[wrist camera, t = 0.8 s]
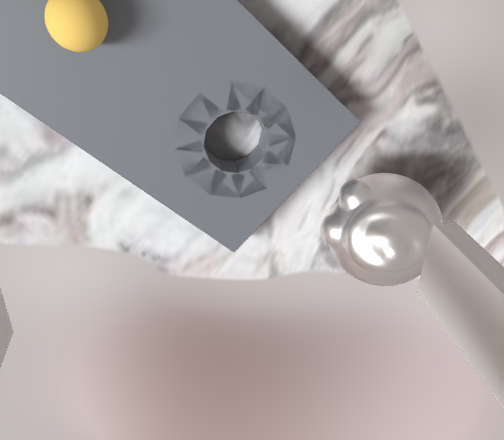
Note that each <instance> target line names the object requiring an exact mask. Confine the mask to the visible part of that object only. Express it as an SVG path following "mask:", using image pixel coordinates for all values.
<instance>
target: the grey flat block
mask: <svg viewBox="0 0 504 440" xmlns="http://www.w3.org/2000/svg"><path fill="white" fill-rule="evenodd" d="M99 1H100V2H101V4H102V5H103V7H104V9H105V11H106V14H107V18H108V30H107V34H106V36H105V38H104V40H103V42H102V43H101V44H100V45H99V46H97V47H96V48H94V49H93V50H90V51H87V52H75V51H71V50H68V49H66V48H64V47H62V46H61V45H59V44H58V43H57V42H56V41H55V40H54V39H53V38H52V36H51V35H50V33H49V32H48V29H47V27H46V24H45V7H46V4H47V2H48V0H0V94H2V95H3V96H5V97H6V98H8V99H9V100H11V101H12V102H14V103H15V104H17V105H18V106H19V107H21V108H22V109H24V110H25V111H27V112H28V113H30V114H31V115H33V116H34V117H36V118H37V119H39V120H40V121H42V122H43V123H44V124H46V125H47V126H49V127H50V128H52V129H53V130H55V131H56V132H58V133H59V134H61V135H62V136H64V137H65V138H67V139H68V140H69V141H71V142H72V143H74V144H75V145H77V146H78V147H80V148H81V149H83V150H84V151H86V152H87V153H89V154H90V155H92V156H93V157H94V158H96V159H97V160H99V161H100V162H102V163H103V164H105V165H106V166H108V167H109V168H111V169H112V170H114V171H115V172H117V173H118V174H119V175H121V176H122V177H124V178H125V179H127V180H128V181H130V182H131V183H133V184H134V185H136V186H137V187H139V188H140V189H141V190H143V191H144V192H146V193H147V194H149V195H150V196H152V197H153V198H155V199H156V200H158V201H159V202H161V203H162V204H164V205H165V206H166V207H168V208H169V209H171V210H172V211H174V212H175V213H177V214H178V215H180V216H181V217H183V218H184V219H186V220H187V221H189V222H190V223H191V224H193V225H194V226H196V227H197V228H199V229H200V230H202V231H203V232H205V233H206V234H208V235H209V236H211V237H212V238H214V239H215V240H216V241H218V242H219V243H221V244H222V245H224V246H225V247H227V248H228V249H230V250H231V251H233V252H235V251H236V250H237V249H238V248H239V247H240V246H241V245H242V244H243V243H244V242H245V241H246V240H247V239H248V238H249V237H250V236H251V235H252V233H253V232H254V231H255V230H256V229H257V228H258V227H259V226H260V225H261V224H262V223H263V222H264V221H265V220H266V219H267V218H268V217H269V216H270V215H271V214H272V213H273V212H274V211H275V210H276V209H277V208H278V207H279V206H280V204H281V203H282V202H283V201H284V200H285V199H286V198H287V197H288V196H289V195H290V194H291V193H292V192H293V191H294V190H295V189H296V188H297V187H298V186H299V185H300V184H301V183H302V182H303V181H304V180H305V179H306V178H307V177H308V176H309V174H310V173H311V172H312V171H313V170H314V169H315V168H316V167H317V166H318V165H319V164H320V163H321V162H322V161H323V160H324V159H325V158H326V157H327V156H328V155H329V154H330V153H331V152H332V151H333V150H334V149H335V148H336V147H337V146H338V144H339V143H340V142H341V141H342V140H343V139H344V138H345V137H346V136H347V135H348V134H349V133H350V132H351V131H352V130H353V129H354V128H355V127H356V126H357V125H358V124H359V123H360V121H359V120H358V119H357V118H356V117H355V116H354V115H353V114H352V113H351V112H350V111H349V110H348V109H347V108H346V107H345V106H344V105H343V104H342V103H341V102H340V101H339V100H338V99H337V98H336V97H335V96H334V95H333V94H332V93H331V92H330V91H329V90H328V89H327V88H326V87H324V86H323V85H322V84H321V83H320V82H319V81H318V80H317V79H316V78H315V77H314V76H313V75H312V74H311V73H310V72H309V71H308V70H307V69H306V68H305V67H304V66H303V65H302V64H301V63H300V62H299V61H298V60H297V59H296V58H295V57H294V56H293V55H292V54H291V53H290V52H289V51H288V50H287V49H286V48H285V47H284V46H283V45H282V44H281V43H280V42H279V41H278V40H277V39H276V38H275V37H274V36H273V35H272V34H271V33H270V32H269V31H268V30H267V29H266V28H265V27H264V26H263V25H262V24H261V23H260V22H259V21H258V20H257V19H256V18H255V17H254V16H253V15H252V14H251V13H250V12H249V11H248V10H247V9H246V8H245V7H244V6H243V5H242V4H241V3H240V2H239V1H238V0H99ZM233 111H236V112H242V113H248V114H251V115H253V116H254V117H255V118H256V119H257V120H258V121H259V122H260V125H261V128H262V131H261V135H260V140H259V144H258V145H257V146H256V147H255V149H254V150H253V151H252V152H251V153H250V154H249V155H248V156H246V157H243V158H240V159H237V160H234V161H232V160H225V159H218V158H217V157H216V156H215V155H213V154H212V153H211V152H209V151H208V150H207V149H206V146H205V144H204V140H205V135H206V130H207V129H208V128H209V126H210V125H211V124H212V123H213V122H214V121H215V119H216V118H217V117H219V116H222V115H224V114H227V113H230V112H233Z"/></svg>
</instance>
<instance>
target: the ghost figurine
mask: <svg viewBox="0 0 504 440" xmlns="http://www.w3.org/2000/svg"><path fill="white" fill-rule="evenodd" d="M438 223H443V218H442V214H441V211H440V209H439V206H438V204H437V203H436V201H435V199H434V198H433V196H432V195H431V194H430V193H429V192H428V191H427V190H426V189H425V188H424V187H423V186H422V185H420V184H419V183H417V182H416V181H414V180H412V179H410V178H408V177H405V176H402V175H399V174H393V173H376V174H371V175H367V176H364V177H362V178H353V179H350V180H348V181H347V182H345V183H344V184H343V185H342V187H341V189H340V192H339V196H338V198H337V200H336V201H335V203H334V204H333V206H332V207H331V209H330V211H329V214H328V215H327V216H326V217H325V218H324V219H323V221H322V224H321V229H320V231H321V236H322V239H323V240H324V242H325V243H326V244H328V245H329V247H330V250H331V252H332V254H333V256H334V258H335V259H336V261H337V262H338V264H339V265H340V266H341V267H342V268H343V269H344V270H345V271H346V272H347V273H349V274H350V275H351V276H353V277H354V278H356V279H358V280H360V281H362V282H365V283H368V284H372V285H378V286H393V285H399V284H403V283H406V282H408V281H411V280H413V279H414V278H416V277H418V276H419V275H421V271H422V267H423V263H424V259H425V255H426V251H427V247H428V243H429V239H430V235H431V231H432V227H433V224H438Z"/></svg>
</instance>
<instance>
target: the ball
mask: <svg viewBox="0 0 504 440" xmlns="http://www.w3.org/2000/svg"><path fill="white" fill-rule="evenodd" d="M45 24H46V27H47V29H48V32H49V33H50V35H51V36H52V38H53V39H54V40H55V41H56V42H57V43H58V44H59V45H61V46H62V47H64V48H66V49H68V50H71V51H75V52H87V51H90V50H93V49H94V48H96V47H97V46H99V45H100V44H101V43H102V42H103V40H104V38H105V36H106V34H107V30H108V18H107V14H106V11H105V9H104V7H103V5H102V4H101V2H100V1H99V0H48V2H47V4H46V7H45Z"/></svg>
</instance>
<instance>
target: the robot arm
mask: <svg viewBox="0 0 504 440" xmlns="http://www.w3.org/2000/svg"><path fill="white" fill-rule="evenodd" d="M416 293H417V294H418V295H419V297H420V298H421V299H422V301H423V302H424V303H425V305H426V306H427V307H428V309H429V310H430V311H431V313H432V314H433V315H434V317H435V318H436V319H437V321H438V322H439V323H440V325H441V326H442V327H443V328H444V330H445V331H446V333H447V334H448V335H449V337H450V338H451V339H452V341H453V342H454V343H455V345H456V346H457V347H458V349H459V350H460V351H461V353H462V354H463V355H464V357H465V358H466V359H467V360H468V362H469V363H470V365H471V366H472V367H473V369H474V370H475V371H476V373H477V374H478V375H479V377H480V378H481V379H482V381H483V382H484V383H485V384H486V386H487V387H488V389H489V390H490V391H491V393H492V394H493V395H494V397H495V398H496V399H497V401H498V402H499V403H500V405H501V406H502V407H503V409H504V267H503V266H502V265H501V264H500V263H499V262H498V261H497V260H495V259H494V258H493V257H492V256H491V255H490V254H489V253H488V252H487V251H486V250H485V249H484V248H482V247H481V246H480V245H479V244H478V243H477V242H476V241H475V240H474V239H473V238H472V237H471V236H470V235H468V234H467V233H466V232H465V231H464V230H463V229H462V228H461V227H460V226H459V225H458V224H457V223H455V222H452V223H438V224H433V227H432V231H431V235H430V239H429V243H428V247H427V251H426V255H425V259H424V263H423V267H422V271H421V275H420V279H419V283H418V287H417V291H416ZM12 334H13V329H12V325H11V322H10V319H9V316H8V313H7V309H6V306H5V303H4V299H3V296H2V293H1V289H0V367H1V364H2V361H3V358H4V356H5V353H6V351H7V348H8V345H9V342H10V340H11V337H12Z"/></svg>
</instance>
